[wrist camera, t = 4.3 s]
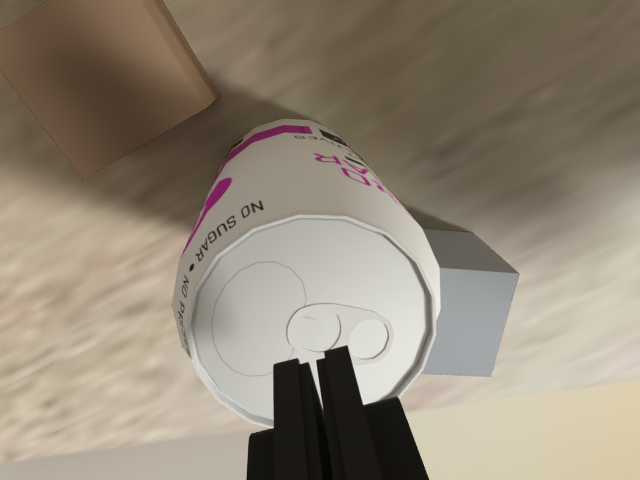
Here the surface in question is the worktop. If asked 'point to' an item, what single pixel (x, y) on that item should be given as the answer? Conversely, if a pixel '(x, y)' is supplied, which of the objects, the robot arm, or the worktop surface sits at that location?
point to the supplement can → (303, 271)
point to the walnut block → (103, 75)
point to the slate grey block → (468, 304)
